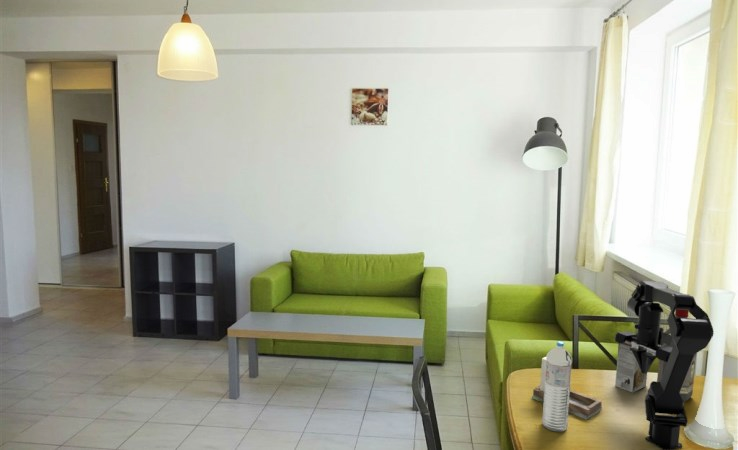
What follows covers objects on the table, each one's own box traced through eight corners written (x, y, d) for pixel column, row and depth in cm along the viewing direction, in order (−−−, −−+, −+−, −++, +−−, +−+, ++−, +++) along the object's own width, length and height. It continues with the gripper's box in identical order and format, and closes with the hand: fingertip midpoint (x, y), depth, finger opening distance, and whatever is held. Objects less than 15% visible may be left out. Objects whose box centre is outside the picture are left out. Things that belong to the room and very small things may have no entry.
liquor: (653, 394, 169) (662, 306, 165) (663, 386, 175) (671, 301, 172) (684, 404, 162) (694, 312, 159) (693, 396, 169) (703, 307, 165)
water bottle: (547, 418, 152) (552, 336, 149) (570, 426, 147) (576, 342, 144) (538, 427, 146) (543, 342, 143) (562, 435, 142) (568, 348, 139)
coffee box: (628, 379, 180) (631, 335, 178) (646, 386, 175) (650, 341, 173) (614, 386, 175) (617, 340, 173) (632, 393, 170) (637, 346, 168)
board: (601, 409, 158) (602, 400, 157) (586, 419, 151) (587, 410, 151) (547, 389, 171) (548, 380, 171) (532, 398, 164) (532, 389, 164)
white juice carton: (566, 395, 164) (569, 356, 162) (557, 401, 160) (560, 360, 159) (549, 389, 169) (551, 350, 167) (539, 394, 165) (542, 354, 163)
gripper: (698, 330, 146) (692, 382, 148) (641, 311, 163) (637, 358, 165) (670, 334, 142) (665, 387, 144) (615, 314, 159) (611, 363, 161)
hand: (644, 373), depth 154 cm, fingers closed
